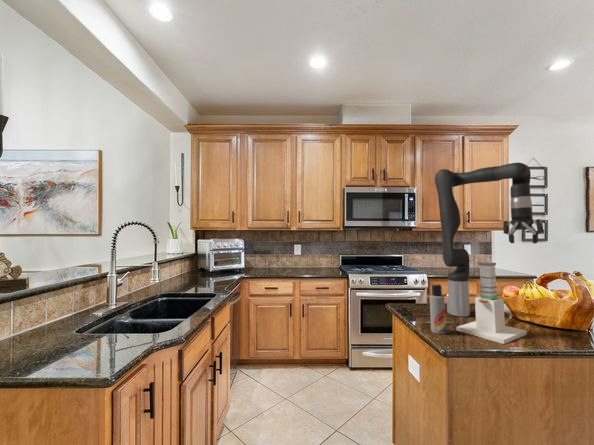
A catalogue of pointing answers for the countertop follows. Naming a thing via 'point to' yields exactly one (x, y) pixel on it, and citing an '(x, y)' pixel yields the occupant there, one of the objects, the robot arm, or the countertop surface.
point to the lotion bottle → (437, 310)
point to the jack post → (488, 280)
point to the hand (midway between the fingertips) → (523, 243)
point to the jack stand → (491, 322)
